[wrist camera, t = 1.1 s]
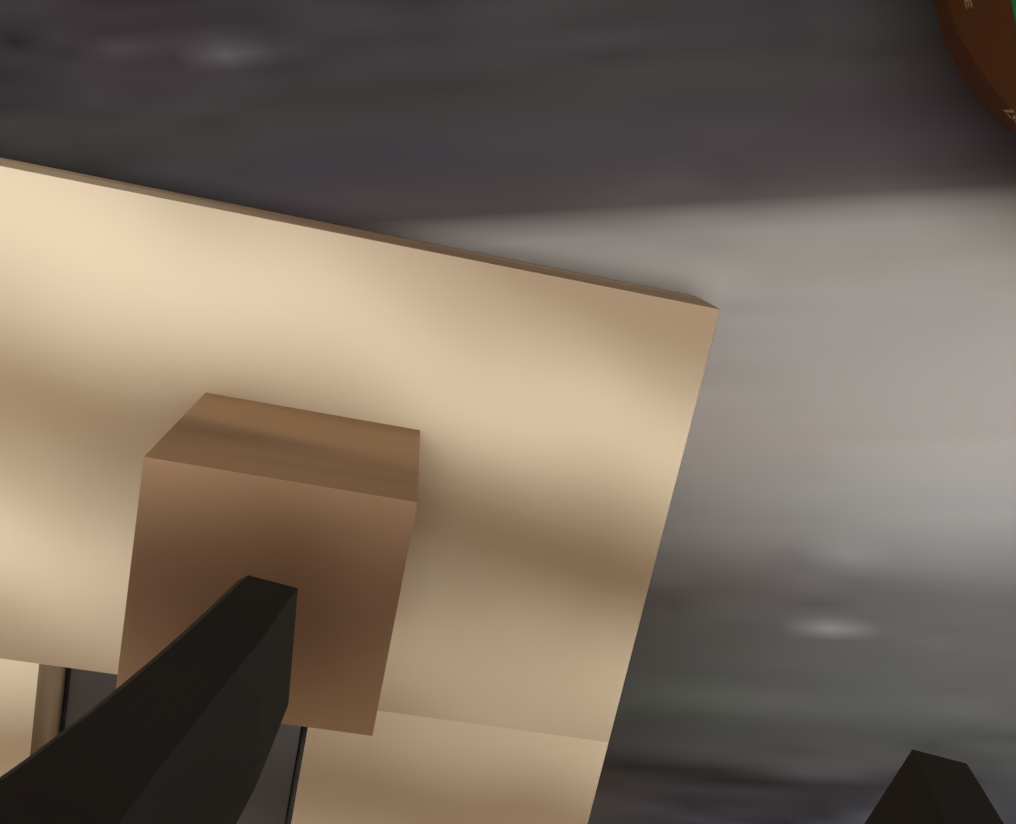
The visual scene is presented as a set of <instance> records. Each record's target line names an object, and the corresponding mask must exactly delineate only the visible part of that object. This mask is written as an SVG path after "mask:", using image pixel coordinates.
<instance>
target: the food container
mask: <svg viewBox="0 0 1016 824" xmlns="http://www.w3.org/2000/svg"><path fill="white" fill-rule="evenodd" d="M933 2H934V6H935V11H936V15H937V19H938V23H939V27H940V31H941V35H942V38H943V40H944V42H945V45H946V47H947V50H948V52H949V54H950V57H951V59H952V61H953V64H954V66H955V68H956V69H957V71H958V72H959V74H960V75H961V77H962V79H963V80H964V82H965V83H966V85H967V87H968V88H969V90H970V91H971V93H972V94H973V95H974V96H975V97H976V98H977V99H978V101H979V102H980V103H981V104H982V105H983V106H984V107H985V108H986V109H987V110H988V112H989V113H990V114H991V115H992V116H993V117H994V118H996V119H997V120H998V121H1000V122H1001V123H1002V124H1004V125H1005V126H1006V127H1007V128H1009V129H1010V130H1011V131H1013V132H1014V133H1015V134H1016V0H933Z"/></svg>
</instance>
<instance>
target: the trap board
mask: <svg viewBox="0 0 1016 824" xmlns="http://www.w3.org/2000/svg"><path fill="white" fill-rule="evenodd" d="M719 312H720V309H718V308H716V307H715V306H713V305H711V304H709V303H707V302H705V301H703V300H701V299H699V298H697V297H695V296H690V295H685V294H680V293H675V292H670V291H665V290H660V289H655V288H650V287H645V286H640V285H635V284H630V283H625V282H620V281H615V280H610V279H605V278H600V277H595V276H590V275H585V274H580V273H575V272H570V271H565V270H560V269H555V268H550V267H545V266H540V265H535V264H530V263H525V262H520V261H515V260H510V259H505V258H500V257H495V256H490V255H485V254H480V253H475V252H470V251H465V250H460V249H455V248H450V247H445V246H440V245H435V244H430V243H425V242H420V241H415V240H410V239H406V238H401V237H396V236H391V235H386V234H381V233H376V232H371V231H366V230H361V229H356V228H351V227H346V226H341V225H336V224H331V223H326V222H321V221H316V220H311V219H306V218H301V217H296V216H291V215H286V214H281V213H276V212H271V211H266V210H261V209H256V208H251V207H246V206H241V205H236V204H231V203H226V202H221V201H216V200H211V199H206V198H201V197H196V196H191V195H186V194H181V193H176V192H171V191H166V190H161V189H156V188H151V187H146V186H141V185H136V184H131V183H126V182H121V181H116V180H111V179H106V178H101V177H96V176H91V175H86V174H81V173H76V172H71V171H66V170H61V169H56V168H51V167H46V166H41V165H36V164H31V163H26V162H21V161H16V160H11V159H6V158H1V157H0V777H1V776H2V775H4V774H5V773H7V772H8V771H10V770H11V769H12V768H14V767H15V766H17V765H18V764H19V763H21V762H22V761H24V760H25V759H26V758H28V757H29V756H30V755H32V754H33V753H34V752H36V751H37V750H38V749H40V748H41V747H42V746H44V745H45V744H46V743H48V742H49V741H50V740H51V739H53V738H54V737H55V736H57V735H58V734H59V733H60V725H61V716H62V706H63V697H64V688H65V678H66V669H67V668H71V677H70V686H69V696H68V705H67V714H66V723H65V729H66V728H67V727H69V726H70V725H71V724H73V723H74V722H75V721H77V720H78V719H79V718H81V717H82V716H83V715H85V714H86V713H87V712H88V711H90V710H91V709H92V708H94V707H95V706H96V705H97V704H99V703H100V702H101V701H102V700H104V699H105V698H106V697H107V696H108V695H110V694H111V693H112V692H113V691H114V690H116V683H117V675H118V666H119V658H120V650H121V642H122V633H123V625H124V617H125V609H126V600H127V592H128V584H129V576H130V567H131V559H132V551H133V543H134V534H135V526H136V518H137V510H138V501H139V493H140V485H141V477H142V468H143V460H144V456H145V455H146V454H147V453H148V452H149V451H150V450H151V449H152V448H153V447H154V446H155V445H156V444H157V443H158V442H159V441H160V440H161V438H162V437H163V436H164V435H165V434H166V433H167V432H168V431H169V430H170V429H171V428H172V427H173V426H174V425H175V424H176V423H177V422H178V421H179V420H180V419H181V418H182V417H183V416H184V415H185V413H186V412H187V411H188V410H189V409H190V408H191V407H192V406H193V405H194V404H195V403H196V402H197V401H198V400H199V399H200V398H201V397H202V396H203V395H204V394H205V393H211V394H217V395H223V396H228V397H234V398H240V399H245V400H251V401H257V402H262V403H268V404H274V405H279V406H285V407H291V408H297V409H302V410H308V411H314V412H319V413H325V414H331V415H336V416H342V417H348V418H353V419H359V420H365V421H371V422H376V423H382V424H388V425H393V426H399V427H405V428H410V429H416V430H420V444H419V474H418V502H417V508H416V513H415V518H414V523H413V528H412V534H411V539H410V544H409V549H408V554H407V559H406V565H405V570H404V575H403V580H402V585H401V591H400V596H399V601H398V606H397V611H396V616H395V622H394V627H393V632H392V637H391V642H390V648H389V653H388V658H387V663H386V668H385V673H384V679H383V684H382V689H381V694H380V699H379V705H378V710H377V715H376V720H375V725H374V730H373V736H369V735H361V734H354V733H347V732H339V731H332V730H324V729H317V728H310V727H308V729H307V735H306V741H305V747H304V752H303V758H302V764H301V769H300V775H299V781H298V787H297V792H296V798H295V804H294V809H293V815H292V821H291V824H588V820H589V816H590V812H591V808H592V804H593V801H594V797H595V793H596V789H597V785H598V781H599V777H600V773H601V770H602V766H603V762H604V758H605V754H606V750H607V746H608V742H609V739H610V735H611V731H612V727H613V723H614V719H615V715H616V711H617V708H618V704H619V700H620V696H621V692H622V688H623V684H624V680H625V677H626V673H627V669H628V665H629V661H630V657H631V653H632V649H633V646H634V642H635V638H636V634H637V630H638V626H639V622H640V618H641V615H642V611H643V607H644V603H645V599H646V595H647V591H648V587H649V584H650V580H651V576H652V572H653V568H654V564H655V560H656V557H657V553H658V549H659V545H660V541H661V537H662V533H663V529H664V526H665V522H666V518H667V514H668V510H669V506H670V502H671V498H672V495H673V491H674V487H675V483H676V479H677V475H678V471H679V467H680V464H681V460H682V456H683V452H684V448H685V444H686V440H687V436H688V433H689V429H690V425H691V421H692V417H693V413H694V409H695V405H696V402H697V398H698V394H699V390H700V386H701V382H702V378H703V374H704V371H705V367H706V363H707V359H708V355H709V351H710V347H711V343H712V340H713V336H714V332H715V328H716V324H717V320H718V316H719ZM301 727H302V726H295V725H287V724H281V725H280V727H279V730H278V732H277V735H276V737H275V740H274V743H273V745H272V748H271V750H270V753H269V755H268V758H267V760H266V763H265V765H264V767H263V770H262V772H261V775H260V777H259V780H258V782H257V785H256V787H255V789H254V791H253V793H252V795H251V797H250V799H249V800H248V802H247V804H246V806H245V808H244V810H243V812H242V814H241V816H240V818H239V820H238V822H237V823H236V824H285V820H286V814H287V808H288V802H289V796H290V791H291V785H292V779H293V773H294V768H295V762H296V756H297V750H298V744H299V739H300V733H301Z"/></svg>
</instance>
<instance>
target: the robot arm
mask: <svg viewBox="0 0 1016 824" xmlns="http://www.w3.org/2000/svg"><path fill="white" fill-rule="evenodd" d="M297 594H298V588H295V587H292V586H288V585H284V584H280V583H276V582H273V581H269V580H265V579H261V578H257V577H253V576H250V575H247V576H245V577H243V578H241V579H239V580H238V581H237V582H236V583H235V584H234V585H233V586H232V587H231V588H229V589H228V590H227V591H226V592H225V593H224V594H223V595H222V596H221V597H220V598H219V599H218V600H217V601H216V602H215V603H214V604H213V605H212V606H211V607H210V608H209V609H207V610H206V611H205V612H204V613H203V614H202V615H201V616H200V617H199V618H198V619H197V620H196V621H195V622H193V623H192V624H191V625H190V626H189V627H188V628H187V629H186V630H185V631H183V632H182V633H181V634H180V635H179V636H178V637H177V638H176V639H174V640H173V641H172V642H171V643H170V644H169V645H168V646H167V647H165V648H164V649H163V650H162V651H161V652H160V653H159V654H157V655H156V656H155V657H154V658H153V659H152V660H150V661H149V662H148V663H147V664H146V665H144V666H143V667H142V668H141V669H140V670H138V671H137V672H136V673H135V674H134V675H132V676H131V677H130V678H129V679H128V680H126V681H125V682H124V683H123V684H122V685H120V686H119V687H118V688H117V689H116V690H114V691H113V692H112V693H111V694H110V695H108V696H107V697H106V698H105V699H104V700H102V701H101V702H100V703H99V704H97V705H96V706H95V707H94V708H92V709H91V710H90V711H88V712H87V713H86V714H85V715H83V716H82V717H81V718H79V719H78V720H77V721H75V722H74V723H73V724H71V725H70V726H69V727H67V728H66V729H65V730H63V731H62V732H61V733H59V734H58V735H57V736H55V737H54V738H53V739H51V740H50V741H49V742H48V743H46V744H45V745H44V746H42V747H41V748H40V749H38V750H37V751H36V752H34V753H33V754H32V755H30V756H29V757H28V758H26V759H25V760H24V761H22V762H21V763H19V764H18V765H17V766H15V767H14V768H12V769H11V770H10V771H8V772H7V773H5V774H4V775H2V776H1V777H0V824H236V823H237V822H238V820H239V818H240V816H241V814H242V812H243V810H244V808H245V806H246V804H247V802H248V800H249V799H250V797H251V795H252V793H253V791H254V789H255V787H256V785H257V782H258V780H259V777H260V775H261V772H262V770H263V767H264V765H265V763H266V760H267V758H268V755H269V753H270V750H271V748H272V745H273V743H274V740H275V737H276V735H277V732H278V730H279V727H280V725H281V722H282V719H283V717H284V714H285V712H286V709H287V707H288V703H289V690H290V678H291V666H292V654H293V642H294V630H295V618H296V606H297ZM865 824H1004V823H1003V822H1002V820H1001V819H1000V817H999V815H998V814H997V812H996V810H995V809H994V807H993V805H992V804H991V802H990V801H989V799H988V797H987V796H986V794H985V792H984V791H983V789H982V788H981V786H980V784H979V783H978V781H977V780H976V778H975V776H974V775H973V773H972V772H971V770H970V768H969V767H968V765H967V764H966V763H962V762H958V761H954V760H950V759H947V758H943V757H939V756H935V755H931V754H928V753H924V752H920V751H916V750H912V751H911V753H910V754H909V756H908V757H907V759H906V760H905V762H904V763H903V765H902V767H901V768H900V770H899V771H898V773H897V774H896V776H895V777H894V779H893V780H892V782H891V784H890V785H889V787H888V788H887V790H886V791H885V793H884V794H883V796H882V798H881V799H880V801H879V802H878V804H877V805H876V807H875V808H874V810H873V811H872V813H871V815H870V816H869V818H868V819H867V821H866V822H865Z"/></svg>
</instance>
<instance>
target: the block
mask: <svg viewBox="0 0 1016 824" xmlns="http://www.w3.org/2000/svg"><path fill="white" fill-rule="evenodd" d="M419 444H420V430H416V429H410V428H405V427H399V426H393V425H388V424H382V423H376V422H371V421H365V420H359V419H353V418H348V417H342V416H336V415H331V414H325V413H319V412H314V411H308V410H302V409H297V408H291V407H285V406H279V405H274V404H268V403H262V402H257V401H251V400H245V399H240V398H234V397H228V396H223V395H217V394H211V393H205V394H204V395H203V396H202V397H201V398H200V399H199V400H198V401H197V402H196V403H195V404H194V405H193V406H192V407H191V408H190V409H189V410H188V411H187V412H186V413H185V415H184V416H183V417H182V418H181V419H180V420H179V421H178V422H177V423H176V424H175V425H174V426H173V427H172V428H171V429H170V430H169V431H168V432H167V433H166V434H165V435H164V436H163V437H162V438H161V440H160V441H159V442H158V443H157V444H156V445H155V446H154V447H153V448H152V449H151V450H150V451H149V452H148V453H147V454H146V455H145V456H144V460H143V468H142V477H141V485H140V493H139V501H138V510H137V518H136V526H135V534H134V543H133V551H132V559H131V567H130V576H129V584H128V592H127V600H126V609H125V617H124V625H123V633H122V642H121V650H120V658H119V666H118V675H117V683H116V689H117V688H118V687H119V686H120V685H122V684H123V683H124V682H125V681H126V680H128V679H129V678H130V677H131V676H132V675H134V674H135V673H136V672H137V671H138V670H140V669H141V668H142V667H143V666H144V665H146V664H147V663H148V662H149V661H150V660H152V659H153V658H154V657H155V656H156V655H157V654H159V653H160V652H161V651H162V650H163V649H164V648H165V647H167V646H168V645H169V644H170V643H171V642H172V641H173V640H174V639H176V638H177V637H178V636H179V635H180V634H181V633H182V632H183V631H185V630H186V629H187V628H188V627H189V626H190V625H191V624H192V623H193V622H195V621H196V620H197V619H198V618H199V617H200V616H201V615H202V614H203V613H204V612H205V611H206V610H207V609H209V608H210V607H211V606H212V605H213V604H214V603H215V602H216V601H217V600H218V599H219V598H220V597H221V596H222V595H223V594H224V593H225V592H226V591H227V590H228V589H229V588H231V587H232V586H233V585H234V584H235V583H236V582H237V581H238V580H239V579H241V578H243V577H245V576H247V575H250V576H253V577H257V578H261V579H265V580H269V581H273V582H276V583H280V584H284V585H288V586H292V587H295V588H298V594H297V606H296V618H295V630H294V642H293V654H292V666H291V678H290V690H289V703H288V707H287V709H286V712H285V714H284V717H283V719H282V722H281V724H287V725H295V726H302V727H310V728H317V729H324V730H332V731H339V732H347V733H354V734H361V735H369V736H373V730H374V725H375V720H376V715H377V710H378V705H379V699H380V694H381V689H382V684H383V679H384V673H385V668H386V663H387V658H388V653H389V648H390V642H391V637H392V632H393V627H394V622H395V616H396V611H397V606H398V601H399V596H400V591H401V585H402V580H403V575H404V570H405V565H406V559H407V554H408V549H409V544H410V539H411V534H412V528H413V523H414V518H415V513H416V508H417V502H418V474H419Z"/></svg>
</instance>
